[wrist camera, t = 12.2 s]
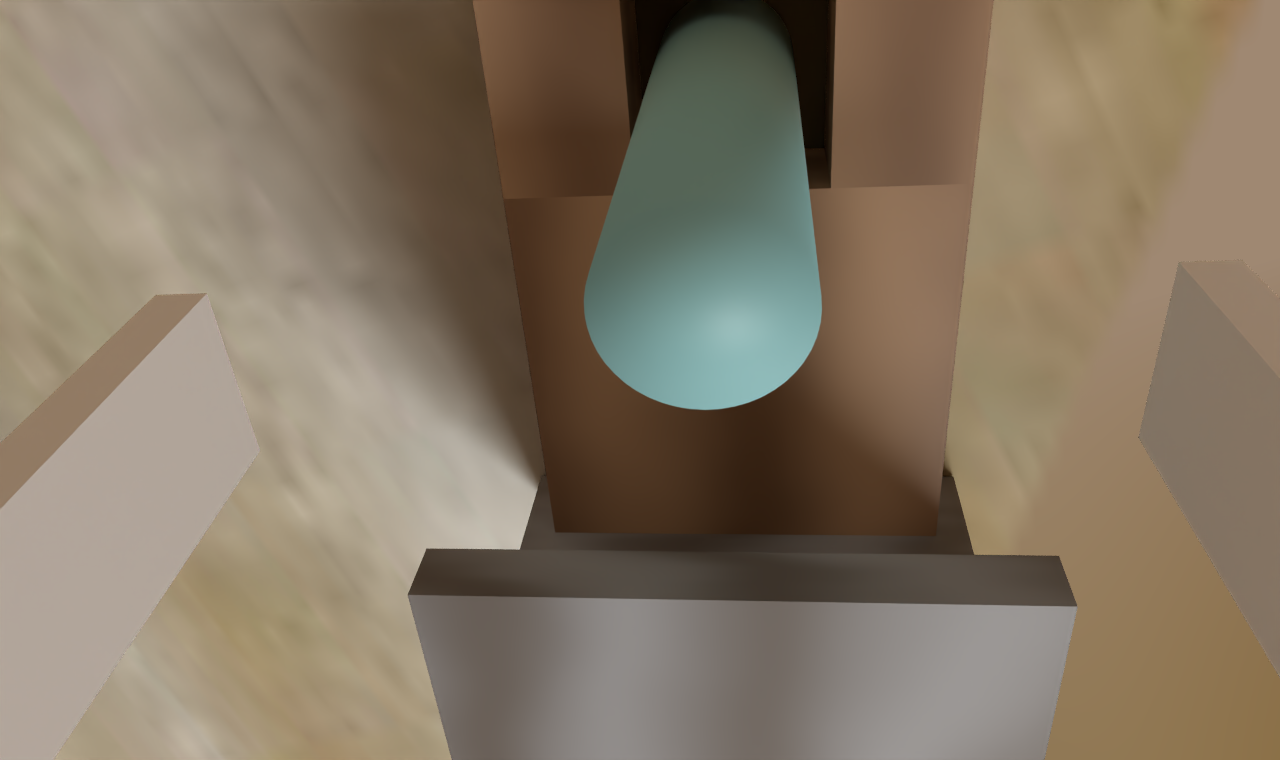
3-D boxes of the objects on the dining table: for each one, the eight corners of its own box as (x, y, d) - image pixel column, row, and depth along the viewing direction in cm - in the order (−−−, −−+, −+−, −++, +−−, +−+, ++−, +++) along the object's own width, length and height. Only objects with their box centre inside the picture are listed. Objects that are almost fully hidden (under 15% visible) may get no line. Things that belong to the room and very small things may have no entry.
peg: (662, 128, 28) (595, 410, 16) (654, -6, 26) (571, 202, 14) (792, 124, 28) (818, 409, 16) (794, -14, 26) (825, 196, 14)
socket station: (545, 497, 36) (461, 795, 26) (446, -128, 25) (237, -40, 15) (950, 499, 34) (1031, 819, 24) (1027, -171, 23) (1231, -104, 13)
